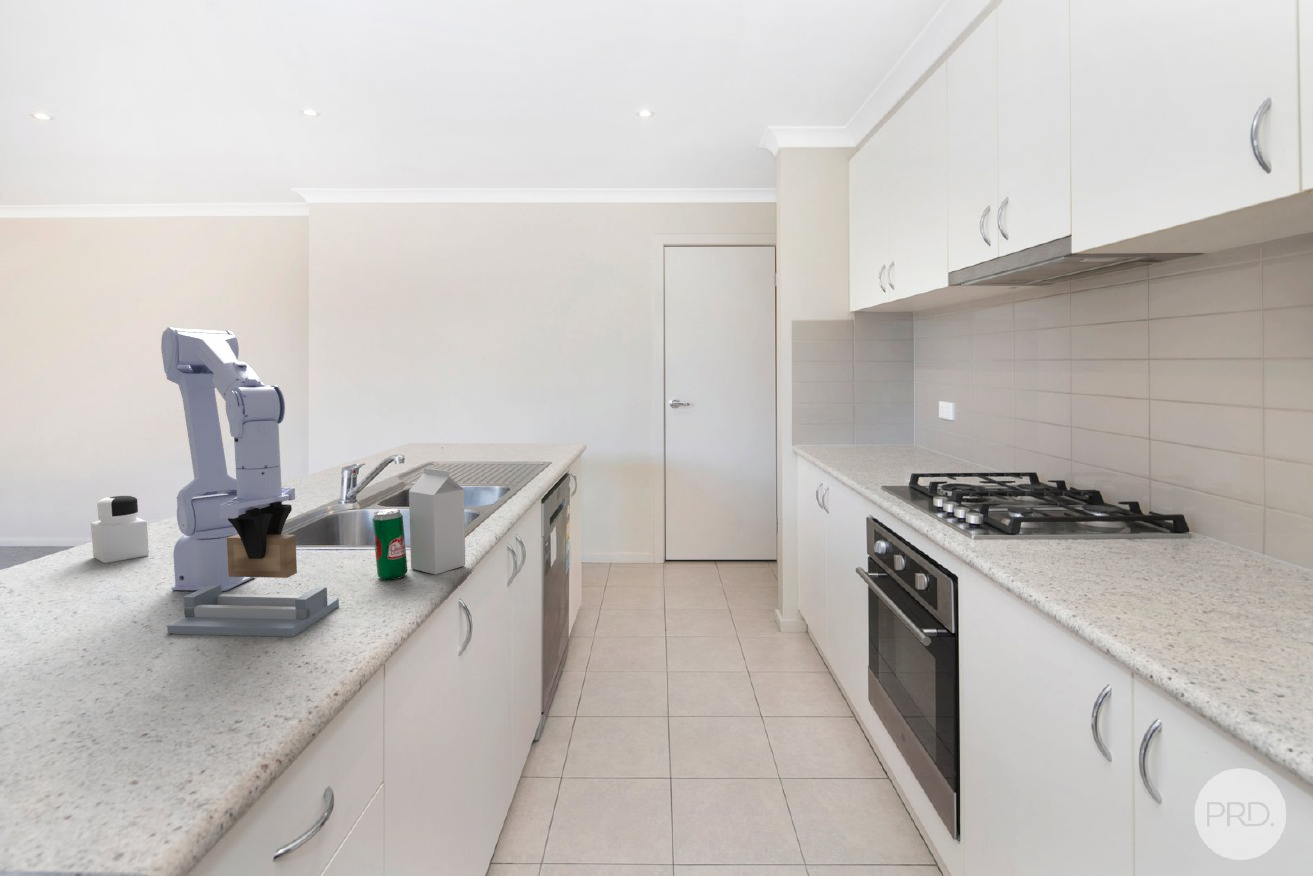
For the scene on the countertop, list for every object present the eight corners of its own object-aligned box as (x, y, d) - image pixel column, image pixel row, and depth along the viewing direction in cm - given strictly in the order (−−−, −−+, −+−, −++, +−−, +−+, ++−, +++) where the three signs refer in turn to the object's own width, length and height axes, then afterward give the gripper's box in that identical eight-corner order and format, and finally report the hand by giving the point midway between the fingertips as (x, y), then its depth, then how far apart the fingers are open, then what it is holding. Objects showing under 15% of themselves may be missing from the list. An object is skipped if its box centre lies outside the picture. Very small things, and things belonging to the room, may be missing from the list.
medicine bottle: (137, 549, 131) (134, 492, 130) (149, 555, 127) (145, 496, 125) (92, 557, 125) (88, 497, 124) (103, 564, 121) (99, 502, 120)
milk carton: (435, 575, 116) (433, 473, 114) (410, 569, 120) (407, 469, 118) (465, 566, 122) (464, 468, 120) (441, 560, 126) (439, 465, 124)
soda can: (394, 581, 112) (388, 515, 110) (371, 579, 113) (365, 514, 112) (413, 572, 116) (408, 508, 115) (391, 571, 118) (385, 508, 117)
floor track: (167, 633, 89) (165, 604, 88) (227, 603, 101) (226, 577, 100) (293, 636, 88) (291, 607, 88) (338, 606, 100) (337, 580, 100)
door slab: (228, 576, 95) (226, 537, 95) (239, 572, 98) (237, 533, 97) (287, 577, 95) (285, 538, 94) (297, 572, 97) (295, 534, 97)
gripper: (252, 474, 88) (257, 569, 89) (312, 460, 102) (315, 543, 103) (202, 473, 88) (208, 569, 89) (268, 460, 102) (273, 542, 103)
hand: (262, 555), depth 96 cm, fingers closed on door slab, 2 cm apart
